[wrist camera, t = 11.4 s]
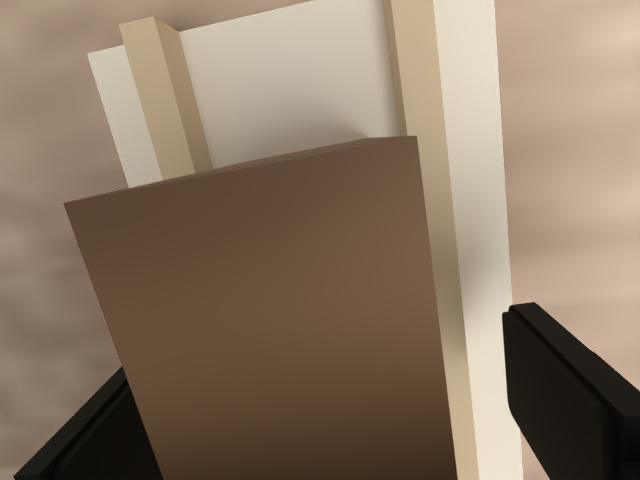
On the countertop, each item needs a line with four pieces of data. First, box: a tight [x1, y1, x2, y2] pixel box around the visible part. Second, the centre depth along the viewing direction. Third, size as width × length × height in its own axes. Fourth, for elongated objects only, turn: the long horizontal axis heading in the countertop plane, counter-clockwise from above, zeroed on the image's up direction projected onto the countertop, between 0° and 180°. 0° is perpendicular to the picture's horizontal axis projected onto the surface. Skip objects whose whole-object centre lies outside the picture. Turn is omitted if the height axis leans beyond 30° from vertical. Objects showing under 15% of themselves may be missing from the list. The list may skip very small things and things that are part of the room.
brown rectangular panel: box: [64, 136, 458, 480], centre depth 9 cm, size 12×4×8 cm, turn 11°
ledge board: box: [87, 0, 523, 480], centre depth 13 cm, size 20×12×3 cm, turn 11°
